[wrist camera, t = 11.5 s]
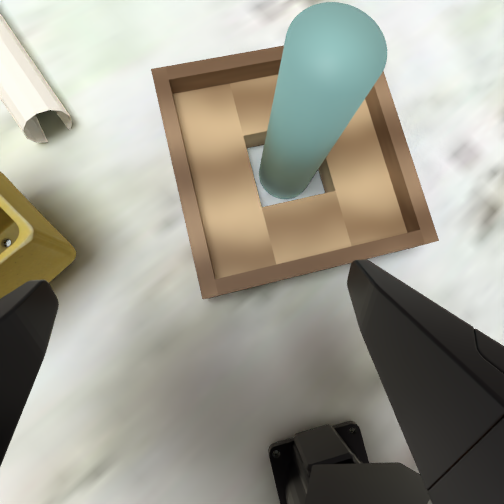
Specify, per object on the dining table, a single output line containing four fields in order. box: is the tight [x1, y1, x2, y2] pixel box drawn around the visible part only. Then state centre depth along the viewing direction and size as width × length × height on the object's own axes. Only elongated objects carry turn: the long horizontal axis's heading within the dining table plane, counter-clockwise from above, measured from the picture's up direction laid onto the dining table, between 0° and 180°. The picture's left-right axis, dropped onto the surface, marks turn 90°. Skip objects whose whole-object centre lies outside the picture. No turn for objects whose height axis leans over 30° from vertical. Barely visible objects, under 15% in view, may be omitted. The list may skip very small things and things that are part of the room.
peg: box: [259, 2, 387, 199], centre depth 18 cm, size 4×4×12 cm
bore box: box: [151, 46, 439, 299], centre depth 22 cm, size 16×16×4 cm
